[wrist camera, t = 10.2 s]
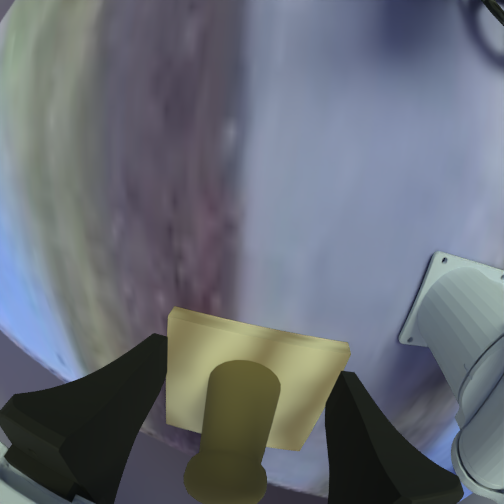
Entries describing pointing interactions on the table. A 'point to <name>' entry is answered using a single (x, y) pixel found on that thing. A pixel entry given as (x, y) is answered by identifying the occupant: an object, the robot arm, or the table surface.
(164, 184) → the table surface
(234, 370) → the cork
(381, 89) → the table surface
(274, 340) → the birch base board
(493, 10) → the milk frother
